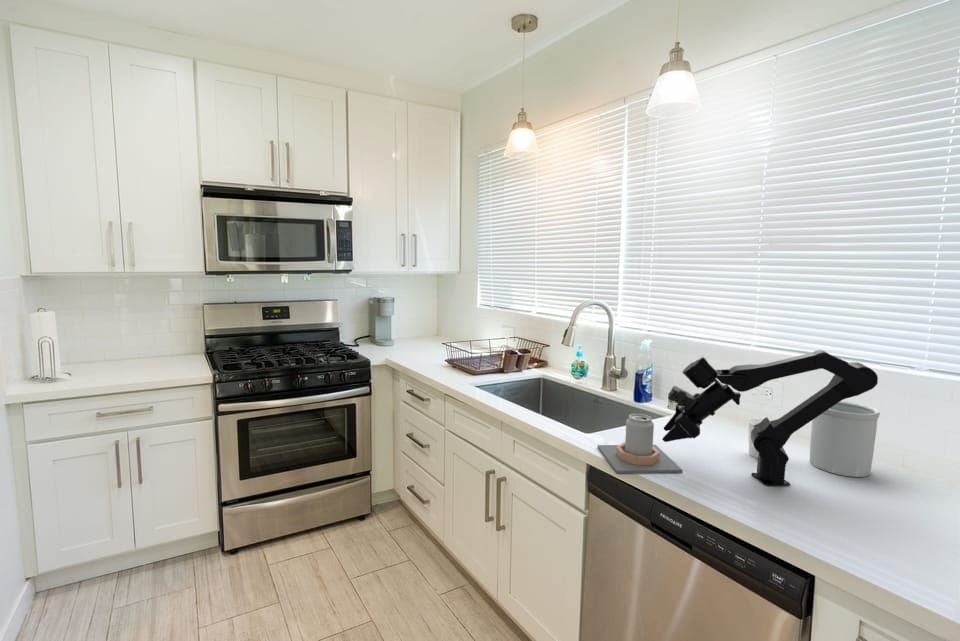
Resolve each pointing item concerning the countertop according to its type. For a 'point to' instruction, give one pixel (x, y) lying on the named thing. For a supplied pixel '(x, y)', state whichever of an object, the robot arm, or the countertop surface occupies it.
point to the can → (639, 435)
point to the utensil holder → (844, 439)
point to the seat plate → (638, 460)
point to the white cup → (752, 449)
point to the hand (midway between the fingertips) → (664, 434)
